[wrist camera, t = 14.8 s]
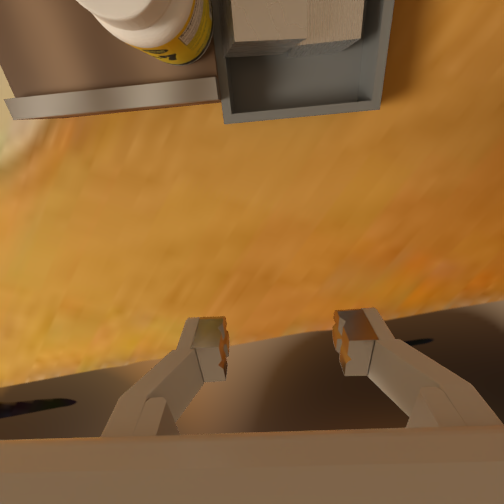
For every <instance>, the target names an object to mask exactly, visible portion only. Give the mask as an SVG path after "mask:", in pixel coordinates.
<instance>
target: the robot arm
mask: <svg viewBox="0 0 504 504" xmlns="http://www.w3.org/2000/svg"><path fill="white" fill-rule="evenodd" d="M334 321H335V325H334V326H333V330H332V334H333V342H334V346H335V349H336V351H337V352H338V353H340V359H339V361H340V364H341V367H342V370H343V372H344V376H362V375H363V376H365V375H368V377H369V378H370V379H371V380H372V381H373V382H374V383H375V384H376V385H377V386H378V387H379V388H380V389H381V390H382V391H383V392H384V393H386V395H387V396H389V398H390V399H392V400H393V401H394V402H395V403H396V404H397V405H398V406H399V407H400V408H401V409H402V410H403V411H404V412H405V413H406V414H407V415H408V416H409V417H410V418H409V421H408V423H407V426H406V428H388V429H387V428H386V429H354V430H324V431H323V430H322V431H292V432H291V431H290V432H289V431H288V432H256V433H227V434H226V433H224V434H192V435H180V433H179V431H178V428H177V426H176V421H177V420H178V418H179V417H180V416H181V414H182V413H183V412H184V410H185V409H186V407H187V406H188V405H189V403H190V402H191V401H192V399H193V398H194V397H195V395H196V394H197V392H198V391H199V390H200V388H201V387H202V386H203V384H204V382H215V381H225V380H226V375H227V366H228V365H227V359H226V358H227V357H228V356H229V334H228V331H227V330H226V326H227V322H226V318H225V316H220V317H197V318H188V319H187V320H186V322H185V325H184V328H183V331H182V334H181V337H180V340H179V343H178V346H177V349H176V350H172V351H171V352H170V353H169V354H168V355H166V356H165V357H164V358H163V359H162V360H161V361H160V362H159V363H158V364H156V365H155V366H154V367H153V368H152V369H151V370H150V371H149V372H147V373H146V374H145V375H144V376H143V377H142V378H141V379H140V380H139V381H137V382H136V383H135V384H134V385H133V386H132V387H131V388H130V389H128V390H127V391H126V392H125V393H124V394H123V395H122V396H121V397H120V398H119V400H118V402H117V404H116V406H115V408H114V410H113V412H112V414H111V416H110V418H109V420H108V423H107V425H106V427H105V429H104V431H103V433H102V435H101V437H91V438H61V439H60V438H58V439H27V440H26V439H24V440H0V504H504V425H503V423H502V422H501V421H500V420H499V419H498V417H497V416H496V415H495V413H494V412H493V411H492V410H491V408H490V407H489V406H488V405H487V403H486V402H485V401H484V399H483V398H482V397H481V396H480V394H479V393H478V392H477V391H476V389H475V388H474V387H473V386H472V384H470V383H469V382H467V381H465V380H464V379H462V378H461V377H459V376H457V375H456V374H454V373H453V372H451V371H449V370H448V369H446V368H444V367H443V366H441V365H440V364H438V363H437V362H435V361H433V360H432V359H430V358H429V357H427V356H425V355H424V354H422V353H421V352H419V351H417V350H416V349H414V348H413V347H411V346H409V345H408V344H406V343H405V342H403V341H401V340H400V339H395V338H394V336H393V335H392V333H391V332H390V330H389V328H388V327H387V325H386V324H385V322H384V320H383V319H382V317H381V316H380V314H379V312H378V311H377V309H375V308H361V309H347V310H335V312H334Z"/></svg>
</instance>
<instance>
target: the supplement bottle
mask: <svg viewBox="0 0 504 504" xmlns="http://www.w3.org/2000/svg"><path fill="white" fill-rule="evenodd" d="M76 1H77V2H78V3H79V4H81V5H82V6H83V7H84V8H86V9H87V10H88V11H90V12H91V13H92V14H93V15H94V16H95V18H96V19H97V20H98V21H99V22H100V23H101V24H102V26H103V27H104V28H106V29H107V30H108V31H109V32H110V33H111V34H112V35H114V36H115V37H117V38H118V39H120V40H121V41H123V42H125V43H126V44H128V45H130V46H132V47H134V48H137V49H139V50H141V51H143V52H145V53H147V54H149V55H150V56H153V57H155V58H157V59H158V60H160V61H163V62H165V63H168V64H171V65H175V66H185V65H189V64H191V63H193V62H195V61H197V60H198V59H199V58H200V57H201V56H202V55H203V54H204V53H205V51H206V50H207V48H208V46H209V44H210V41H211V38H212V34H213V28H214V13H213V7H212V2H211V0H76Z"/></svg>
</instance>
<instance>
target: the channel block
mask: <svg viewBox="0 0 504 504" xmlns="http://www.w3.org/2000/svg"><path fill="white" fill-rule="evenodd" d="M0 65H1V67H2V69H3V71H4V74H5V76H6V78H7V80H8V82H9V85H10V87H11V89H12V91H13V93H14V96H15V98H11V99H4V101H5V103H6V105H7V107H8V109H9V111H10V114H11V116H12V118H13V120H23V119H51V118H69V117H79V116H89V115H99V114H109V113H119V112H129V111H139V110H149V109H159V108H169V107H179V106H189V105H199V104H209V103H219V102H221V94H220V86H219V77H218V69H217V61H216V53H215V45H214V37H213V34H212V38H211V41H210V44H209V46H208V48H207V50H206V51H205V53H204V54H203V55H202V56H201V57H200V58H199V59H198V60H197V61H195V62H193V63H191V64H189V65H185V66H175V65H171V64H168V63H165V62H163V61H160V60H158V59H157V58H155V57H153V56H150V55H149V54H147V53H145V52H143V51H141V50H139V49H137V48H134V47H132V46H130V45H128V44H126V43H125V42H123V41H121V40H120V39H118V38H117V37H115V36H114V35H112V34H111V33H110V32H109V31H108V30H107V29H106V28H104V27H103V26H102V24H101V23H100V22H99V21H98V20H97V19H96V18H95V16H94V15H93V14H92V13H91V12H90V11H88V10H87V9H86V8H84V7H83V6H82V5H81V4H79V3H78V2H77V1H76V0H0Z"/></svg>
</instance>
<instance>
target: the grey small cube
mask: <svg viewBox="0 0 504 504" xmlns="http://www.w3.org/2000/svg"><path fill="white" fill-rule="evenodd" d="M217 2H218V11H219V20H220V29H221V39H222V48H223V57H224V58H227V57H244V56H261V55H279V54H283V53H285V52H286V51H288V50H289V49H291V48H292V47H294V46H296V45H297V44H299V43H300V42H302V41H303V40H305V39H307V0H217Z"/></svg>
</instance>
